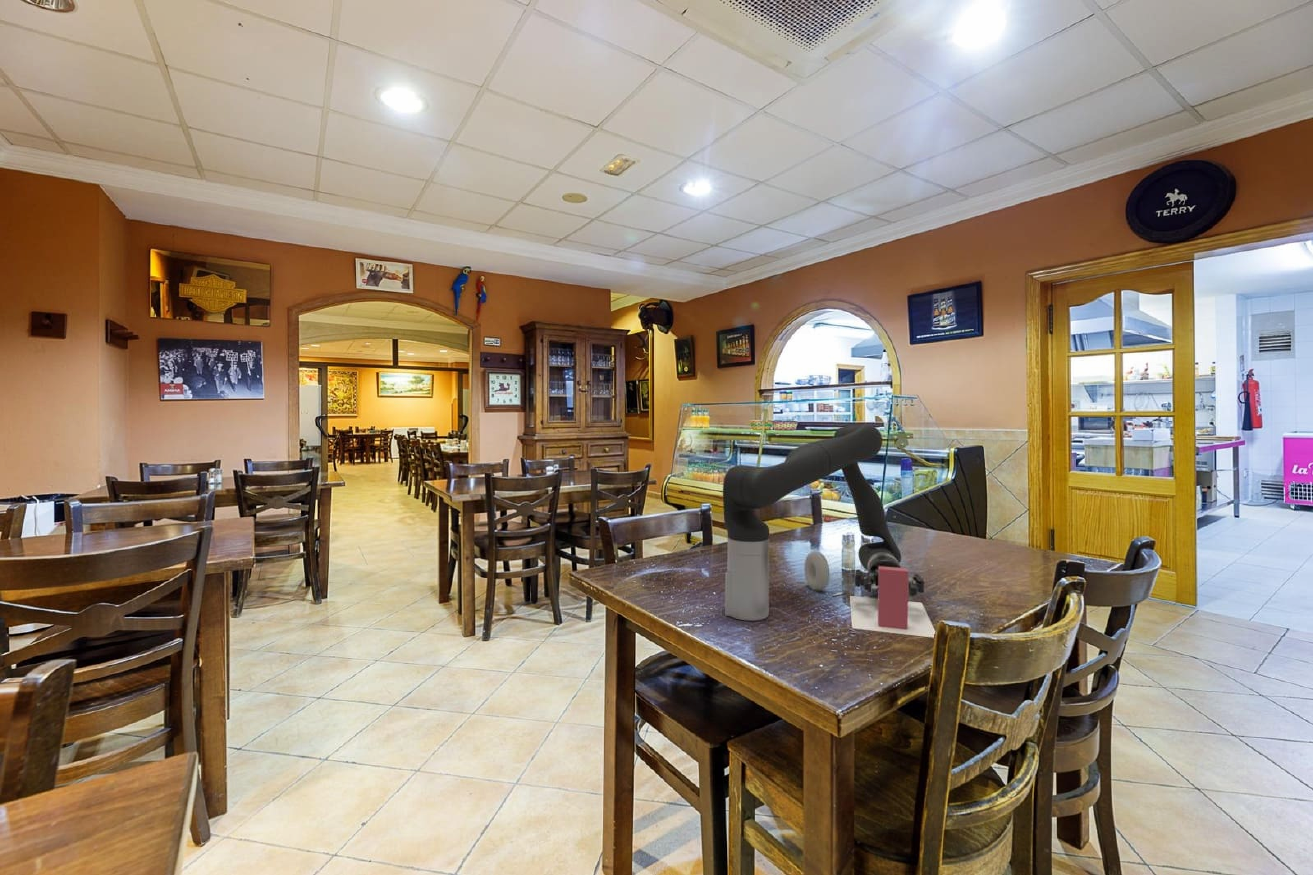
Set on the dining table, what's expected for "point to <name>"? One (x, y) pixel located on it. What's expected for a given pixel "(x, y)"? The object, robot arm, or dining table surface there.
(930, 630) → the mat
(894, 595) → the card case
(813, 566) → the donut
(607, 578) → the dining table surface
